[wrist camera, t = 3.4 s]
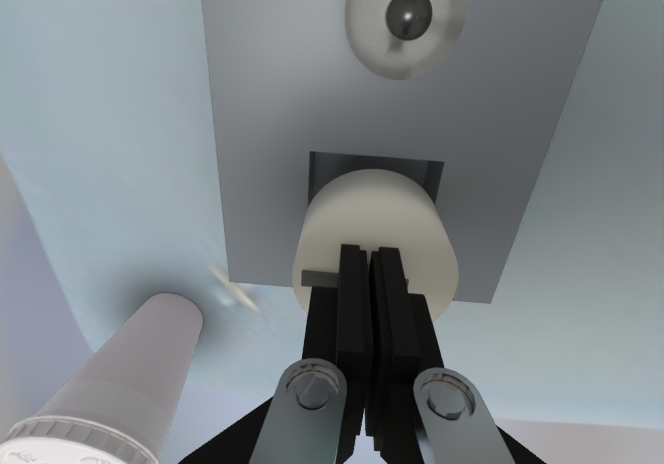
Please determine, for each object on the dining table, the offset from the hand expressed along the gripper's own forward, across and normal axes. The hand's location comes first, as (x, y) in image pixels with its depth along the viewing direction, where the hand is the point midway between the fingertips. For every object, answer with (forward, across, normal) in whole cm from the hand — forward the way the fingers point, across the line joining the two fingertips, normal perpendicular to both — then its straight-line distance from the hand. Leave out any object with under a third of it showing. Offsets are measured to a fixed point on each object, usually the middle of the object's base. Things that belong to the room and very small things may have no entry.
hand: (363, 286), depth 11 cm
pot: (+4, 0, -7) cm, 8 cm away
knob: (+6, 0, 0) cm, 6 cm away
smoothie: (+8, +11, +10) cm, 17 cm away
